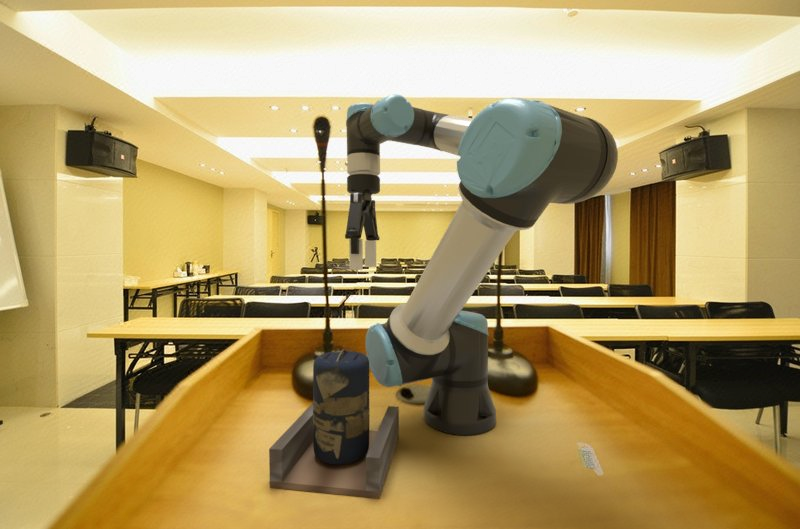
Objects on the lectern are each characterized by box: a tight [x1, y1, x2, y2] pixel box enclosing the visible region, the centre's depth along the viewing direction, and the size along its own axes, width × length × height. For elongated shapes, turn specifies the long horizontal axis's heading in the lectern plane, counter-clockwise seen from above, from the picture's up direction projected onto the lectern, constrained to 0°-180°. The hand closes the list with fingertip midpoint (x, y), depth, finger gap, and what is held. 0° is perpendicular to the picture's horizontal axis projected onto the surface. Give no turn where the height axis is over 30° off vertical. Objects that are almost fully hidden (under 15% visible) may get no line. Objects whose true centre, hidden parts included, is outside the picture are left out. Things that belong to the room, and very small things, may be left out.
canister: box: [312, 349, 371, 465], centre depth 65 cm, size 10×10×18 cm
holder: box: [268, 402, 400, 499], centre depth 65 cm, size 17×18×6 cm
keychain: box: [576, 442, 604, 476], centre depth 66 cm, size 10×1×3 cm
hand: (363, 268), depth 88 cm, fingers open, 13 cm apart
